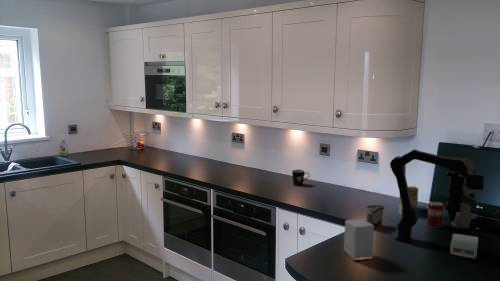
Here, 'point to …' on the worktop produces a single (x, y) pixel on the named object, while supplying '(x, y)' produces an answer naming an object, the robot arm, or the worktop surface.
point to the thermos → (465, 215)
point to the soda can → (435, 214)
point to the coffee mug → (298, 177)
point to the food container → (374, 215)
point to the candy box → (414, 198)
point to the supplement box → (358, 238)
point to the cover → (464, 242)
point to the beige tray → (463, 252)
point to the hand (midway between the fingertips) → (452, 221)
